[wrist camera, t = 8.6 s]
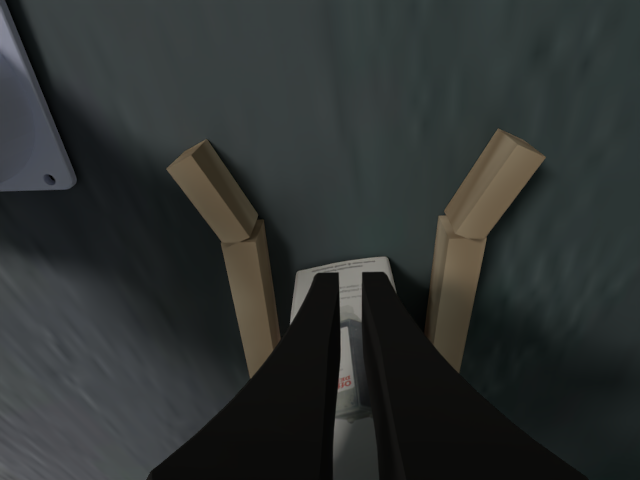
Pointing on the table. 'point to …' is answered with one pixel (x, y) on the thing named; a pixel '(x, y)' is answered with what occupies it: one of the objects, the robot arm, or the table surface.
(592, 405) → the table surface
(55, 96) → the table surface
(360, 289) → the ink box
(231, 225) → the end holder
